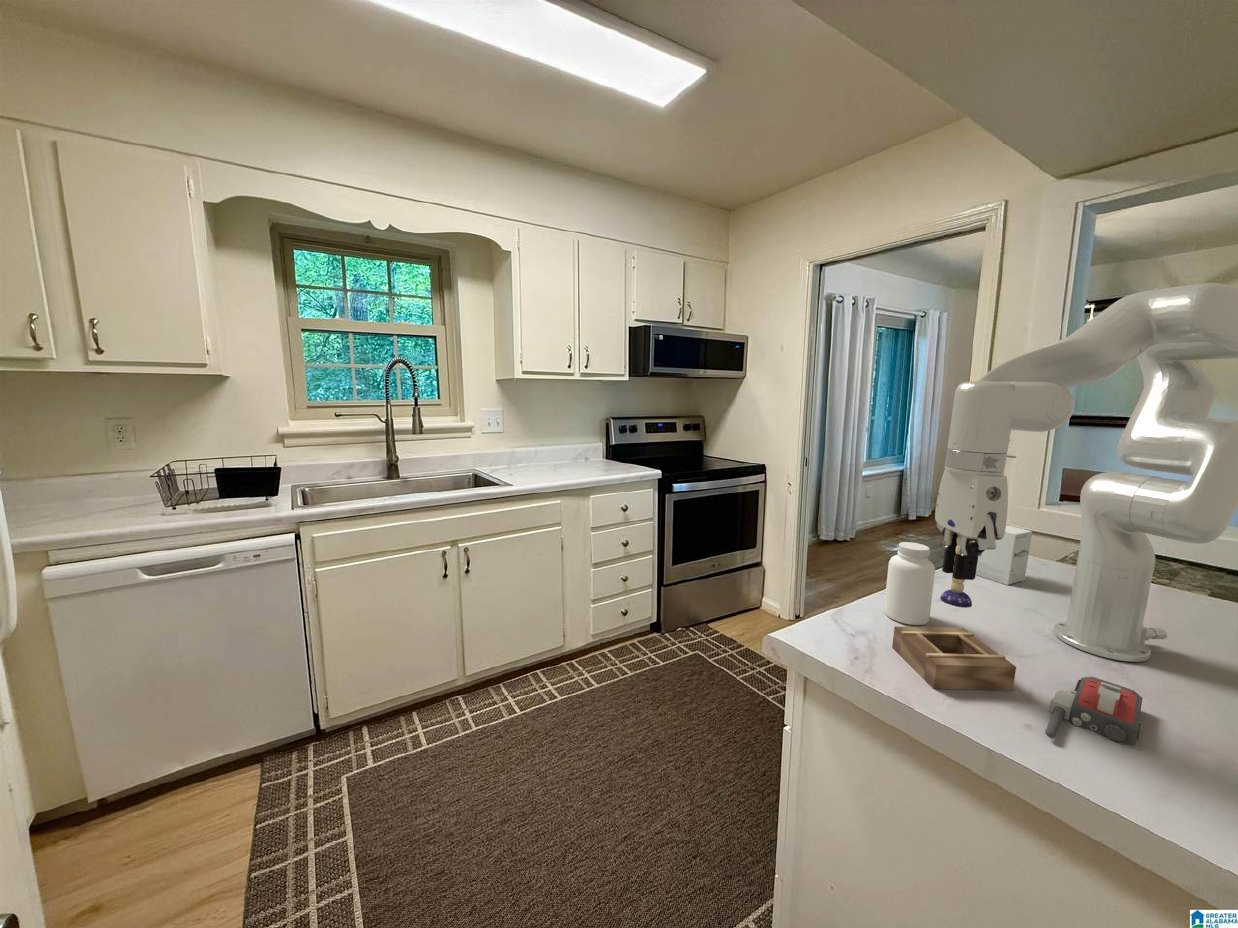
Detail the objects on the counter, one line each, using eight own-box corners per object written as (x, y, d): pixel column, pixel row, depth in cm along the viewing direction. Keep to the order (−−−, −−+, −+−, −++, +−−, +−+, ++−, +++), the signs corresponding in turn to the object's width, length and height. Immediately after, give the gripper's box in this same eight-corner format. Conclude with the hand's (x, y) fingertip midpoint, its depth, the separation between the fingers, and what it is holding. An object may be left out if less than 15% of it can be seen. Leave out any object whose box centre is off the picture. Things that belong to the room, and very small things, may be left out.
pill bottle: (925, 612, 101) (934, 542, 98) (931, 630, 93) (941, 555, 91) (882, 605, 104) (889, 537, 102) (884, 621, 97) (892, 548, 94)
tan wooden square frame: (960, 648, 87) (963, 626, 86) (1012, 690, 75) (1016, 664, 74) (892, 647, 87) (894, 624, 86) (933, 688, 75) (936, 662, 75)
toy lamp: (979, 610, 76) (992, 505, 74) (945, 607, 77) (957, 503, 75) (964, 598, 81) (976, 499, 79) (932, 595, 82) (944, 497, 80)
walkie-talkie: (1062, 682, 78) (1037, 740, 65) (1066, 656, 77) (1042, 710, 64) (1141, 709, 72) (1132, 780, 59) (1147, 682, 71) (1138, 747, 58)
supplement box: (1008, 586, 115) (1015, 534, 113) (974, 574, 122) (981, 525, 120) (1025, 581, 118) (1033, 530, 116) (992, 570, 125) (999, 522, 123)
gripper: (1041, 472, 68) (1020, 597, 70) (964, 456, 83) (949, 559, 86) (986, 470, 68) (967, 595, 71) (920, 454, 83) (906, 557, 86)
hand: (958, 574), depth 78 cm, fingers closed on toy lamp
